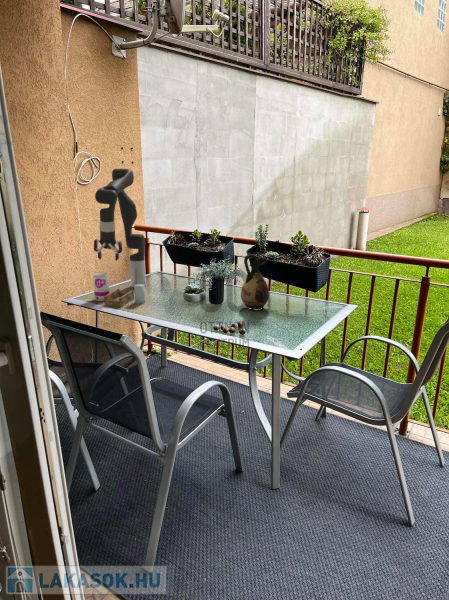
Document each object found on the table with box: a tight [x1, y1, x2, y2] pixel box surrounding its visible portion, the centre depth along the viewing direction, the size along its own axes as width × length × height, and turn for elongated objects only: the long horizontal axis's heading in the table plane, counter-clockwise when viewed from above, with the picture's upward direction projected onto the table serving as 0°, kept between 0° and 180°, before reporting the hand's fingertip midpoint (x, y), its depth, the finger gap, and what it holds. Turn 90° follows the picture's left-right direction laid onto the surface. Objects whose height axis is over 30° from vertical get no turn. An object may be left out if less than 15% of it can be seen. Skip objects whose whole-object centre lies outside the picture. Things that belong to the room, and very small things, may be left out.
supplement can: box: [92, 271, 110, 302], centre depth 252 cm, size 8×8×15 cm
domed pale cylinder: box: [134, 284, 146, 305], centre depth 248 cm, size 6×6×10 cm
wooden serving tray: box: [103, 288, 135, 308], centre depth 249 cm, size 16×10×5 cm, turn 165°
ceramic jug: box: [240, 253, 270, 309], centre depth 239 cm, size 17×15×30 cm
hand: (108, 259), depth 232 cm, fingers open, 8 cm apart
